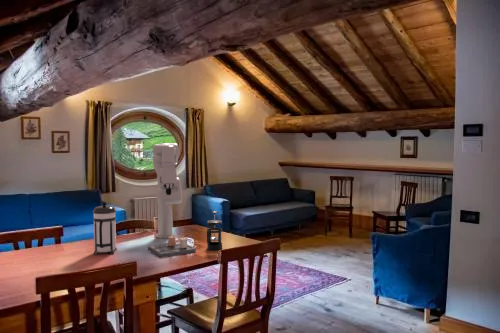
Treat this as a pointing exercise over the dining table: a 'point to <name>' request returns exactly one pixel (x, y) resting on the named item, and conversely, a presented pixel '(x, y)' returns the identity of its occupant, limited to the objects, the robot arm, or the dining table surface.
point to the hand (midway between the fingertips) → (168, 194)
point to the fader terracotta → (171, 241)
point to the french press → (214, 245)
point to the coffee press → (104, 229)
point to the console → (170, 250)
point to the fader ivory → (183, 242)
